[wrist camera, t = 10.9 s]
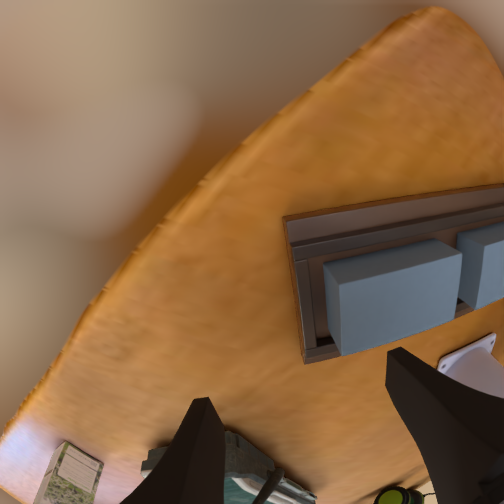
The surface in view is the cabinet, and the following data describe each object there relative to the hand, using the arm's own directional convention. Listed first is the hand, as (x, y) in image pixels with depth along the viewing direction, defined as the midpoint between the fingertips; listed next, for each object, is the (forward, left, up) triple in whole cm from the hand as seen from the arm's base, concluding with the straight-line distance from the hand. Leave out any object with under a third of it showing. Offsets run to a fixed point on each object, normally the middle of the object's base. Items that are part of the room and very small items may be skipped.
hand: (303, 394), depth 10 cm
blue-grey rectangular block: (0, -17, -7) cm, 18 cm away
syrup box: (-19, +27, -9) cm, 34 cm away
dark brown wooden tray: (0, -11, -8) cm, 14 cm away
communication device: (-24, +6, -9) cm, 26 cm away
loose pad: (0, -7, -7) cm, 10 cm away
